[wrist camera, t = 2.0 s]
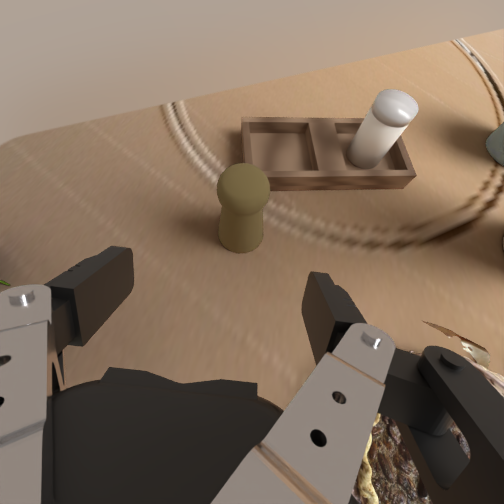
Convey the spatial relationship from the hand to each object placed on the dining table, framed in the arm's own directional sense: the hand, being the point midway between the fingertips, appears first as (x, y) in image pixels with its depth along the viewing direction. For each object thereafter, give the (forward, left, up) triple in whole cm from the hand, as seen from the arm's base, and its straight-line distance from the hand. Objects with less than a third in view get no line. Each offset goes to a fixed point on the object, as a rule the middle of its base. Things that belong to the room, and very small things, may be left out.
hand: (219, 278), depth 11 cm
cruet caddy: (-15, -23, -18) cm, 34 cm away
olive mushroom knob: (-2, -11, -19) cm, 22 cm away
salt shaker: (-22, -23, -17) cm, 36 cm away
